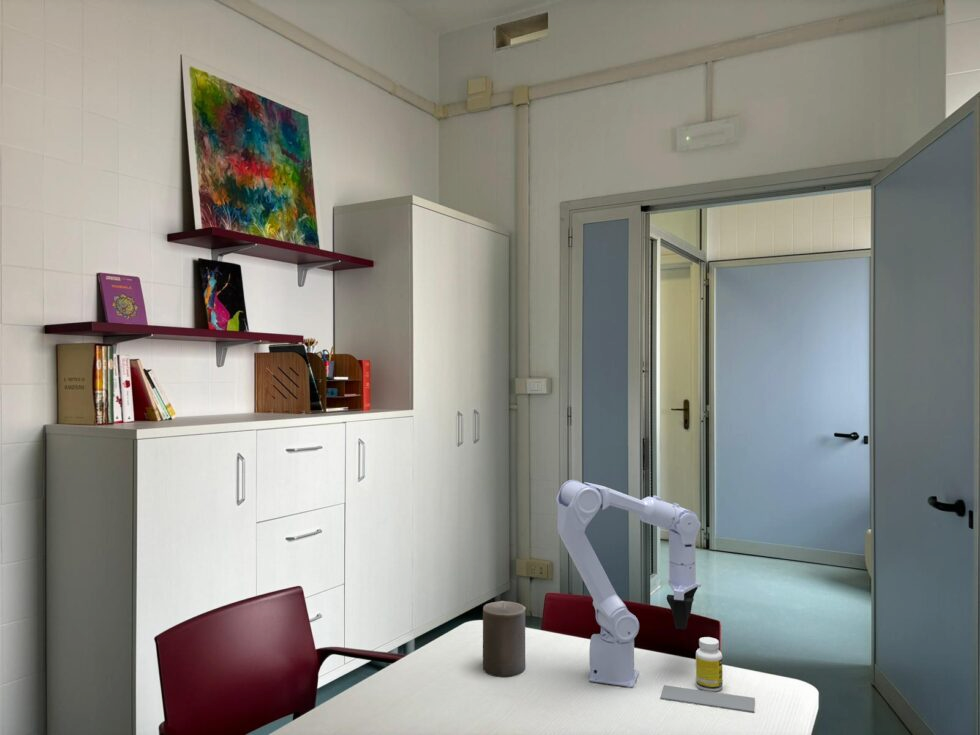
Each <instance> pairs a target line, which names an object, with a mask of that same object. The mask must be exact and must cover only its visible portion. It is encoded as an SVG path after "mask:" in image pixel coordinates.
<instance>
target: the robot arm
mask: <svg viewBox="0 0 980 735" xmlns="http://www.w3.org/2000/svg"><path fill="white" fill-rule="evenodd" d="M555 501H556V504H557V533H558V535H559V537H560V539H561V540H562V542H563V545H564V546H565V548H566V550H567V552H568V555H569V556H570V557H571V560H572V562H573V564H574V566H575V567H576V569H577V571H578V573H579V575H580V576H581V579H582V582H584V584H585V586H586V588H587V591H588V592H589V594H590V596H591V598H592V600H593V601H592V606H593V607H594V610H595V620H596V623H597V625H599V626H600V633H593V634H592V635H591V637H590V640H589V649H588V650H589V652H588V656H589V678H588V681H589V682H591V683H592V682H593V683H598V684H599V683H600V684H607V685H614V686H621V687H627V688H628V687H629V688H633V687H634V686H635V683H636V682H637V679H638V676H639V674H640V670H638V669H635V638H636V637H637V635H638V634H639V630H640V622H639V620H638V617H636V615H634V614H633V613H632V612H630V610H628V608H627V606H626V604H625V603H624V602H623V600H622V599H621V598H620V596H618V594H617V592H616V590H615V588H614V586H613V585H612V583H611V581H610V579H609V577H608V575H607V573H606V571H605V569H604V568H603V566H602V564H601V562H600V560H599V557H598V556H597V555H596V552H595V550H594V549H593V546H592V545H591V542H590V541H589V538H588V536H587V535H586V532H585V530H586V529H587V526H588V524H590V522H591V521H592V519H593V518H594V517H595V515H596V514H597V513H598V512H599V511H600V510H603V511H604V510H605V509H607V508H608V507H610V506H611V507H615V508H618V509H621V510H625V511H627V512H631V513H635V514H637V515H638V518H639V520H640V521H641V522H642V523H645V524H648V525H652V526H655V527H658V528H661V529H664V530H667V531H668V570H669V571H668V574H669V577H668V578H669V579H668V582H667V583H668V585H669V588H671V590H672V592H673V594H667V595H666V601H667V604H668V605H669V607H670V609H671V613H672V617H673V622H674V626H675V629H677V630H686V629H687V627H688V621H689V620H688V619H689V618H690V617H691V614H692V607H693V602H694V597H695V595H696V592H697V590H698V589H699V588H701V587H702V582H701V581H697V580H696V579H697V576H696V573H697V572H696V571H697V570H696V565H697V564H696V559H697V558H696V541H697V534H698V533H699V531H700V529H701V525H702V524H701V522H700V521H699V517H698V515H697V514H696V512H694V511H693V510H690V509H686V508H684V507H682V506H680V504H679V503H677V502H672V503H670V502H667V501H664V500H662V498H661V497H660V496H658V495H655V494H654V495H653V496H646V497H644V498H642V499H639V498H636V497H634V496H631V495H629V494H626V493H624V492H620V491H617V490H615V489H613V488H610V487H607V486H604V485H600V484H595V483H590V482H587V481H586V482H585V481H584V482H583V483H582V482H581V481H579V480H577V479H569V480H567V481H565V482H564V483H563V484H562V485H561V487H560V489H559V491H558V493H557V496H556V498H555Z"/></svg>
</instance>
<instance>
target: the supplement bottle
mask: <svg viewBox="0 0 980 735" xmlns="http://www.w3.org/2000/svg"><path fill="white" fill-rule="evenodd" d="M698 645H699V648H697V650H696V651H695V684H696V687H697V688H698V689H699V690H703V691H710V692H720V691H721V690H722V688H723V685H724V684H723V681H724V680H723V653H722V651H720V650H719V648H720V642H719V640H718V639H717V638H714V637H710V636H704V637H700V638H699V639H698Z"/></svg>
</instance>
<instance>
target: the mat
mask: <svg viewBox="0 0 980 735" xmlns="http://www.w3.org/2000/svg"><path fill="white" fill-rule="evenodd" d="M659 699H660V700H664V699H665V701H670V702H671V701H672V702H677V701H678V702H679V703H684V702H686V703H685V704H691V703H694V704H693V705H698V704H699V706H706V707H710V708H711V707H712V708H718V707H719V708H720V709H726V710H733V711H740V712H744V713H745V712H747V713H755V700H756V698H755V697H751V696H745V695H737V694H730V693H723V692H718V691H715V692H710V691H704V690H702V689H694V688H687V687H681V686H673V685H665V684H663V688H662V691H661V694H660V697H659ZM719 708H718V709H719Z"/></svg>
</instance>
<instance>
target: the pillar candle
mask: <svg viewBox="0 0 980 735" xmlns="http://www.w3.org/2000/svg"><path fill="white" fill-rule="evenodd" d="M526 609H527V608H526V606H524V605H522V604H520V603H518V602H513V601H505V600H500V601H495V602H493V601H492V602H490V603H486V604H485V605H483V608H482V670H483V671H484V673H486V674H488V675H490V676H493V677H497V678H509V677H515V676H519V675H521V674H522V673H524V672H525V670H526Z"/></svg>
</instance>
